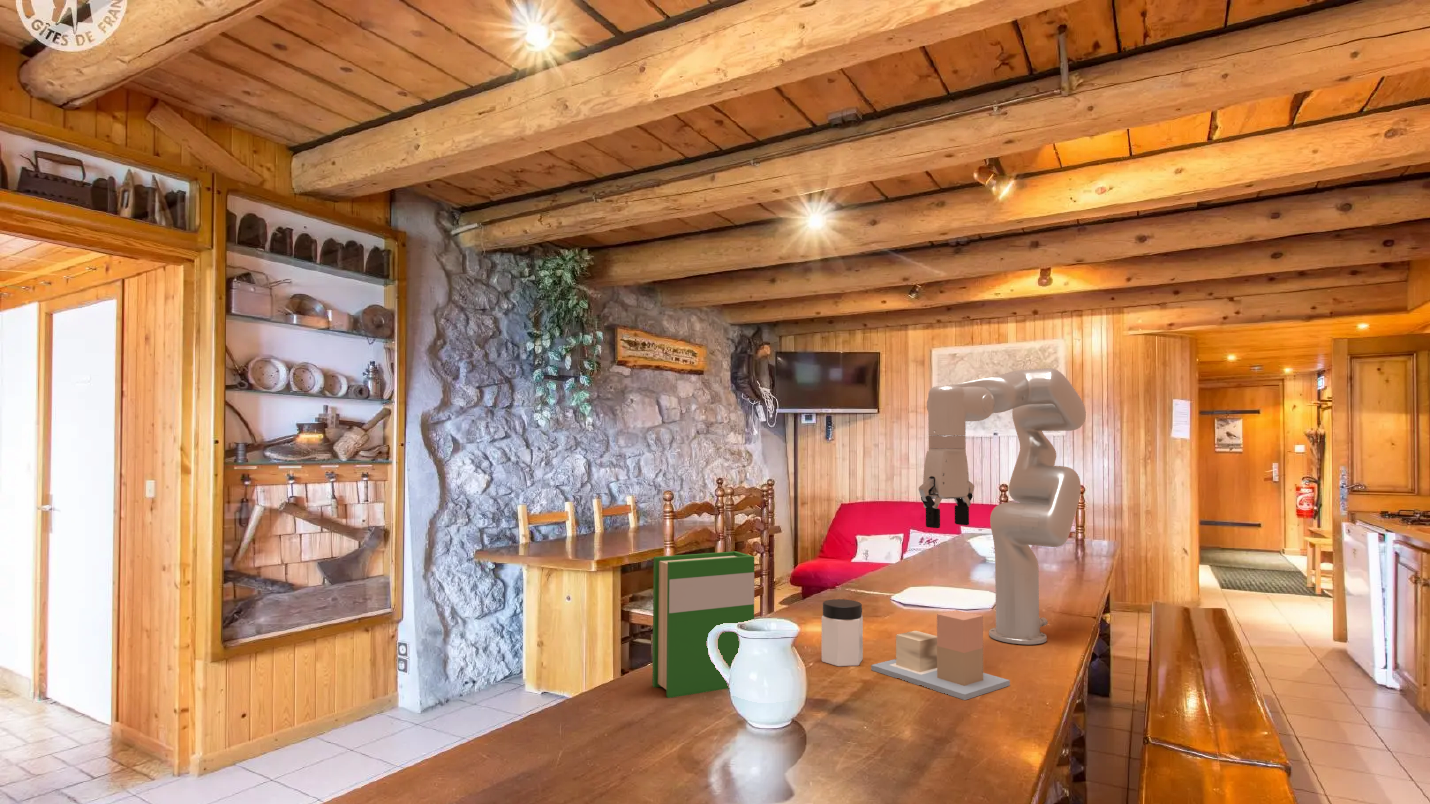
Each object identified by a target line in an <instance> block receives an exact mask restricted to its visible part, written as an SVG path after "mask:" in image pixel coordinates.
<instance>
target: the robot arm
mask: <svg viewBox="0 0 1430 804" xmlns="http://www.w3.org/2000/svg"><path fill="white" fill-rule="evenodd" d="M926 410H927V413H928V417H927V418H928V419H927V420H928V425H927V427H928V428H927V429H928V430H927V431H928V450H927V451H926V454H925V459H924V467H923V475H922V476H923V477H922V479H923V481H922V484H921V485H919V487H918V491H919V495H920V500H921V502H922V504H923V508H924V509H925V527H926V528H929V529H930V528H931V529H940V528H941V508H939V506H940V504H941V502H942V500H952V499H953V500H954V501H955V505H954V524H955V525H958V526H960V525H961V526H969V525H970V506H971V500H972V499H973V497H974V496H973V494H974V490H975V484H974V483H973V482H971V481H970V479H969V464H968V456H967V451H966V450H967V449H966V443H967V442H966V438H967V436H966V422H980V421H984V420H986V419H989V417H990V416H991V415H992V414H993V415H994V414H999V413H1005V412H1007V411H1010V410H1012V412H1011V413H1012V414H1011V415H1012V417H1011V418H1012V421H1013V425H1014V429H1015V431H1016V432H1015V433H1016V435H1017V439H1018V443H1019V452H1018V455H1017V457H1016V462H1015V465H1014V467H1013V470H1012V472H1011V473H1012V474H1011V477H1010V480H1009V484H1008V493H1009V496H1010V497H1011V499H1012V500H1014V501H1015V502H1011V501H1010V502H1002V503H999V504H998V505H996V506H995V507H993V509H992V510H991V513H990V517H989V518H990V519H989V521H990V522H989V523H990V529H991V534H992V540H993V547H994V565H995V566H994V569H995V574H994V575H995V577H994V579H995V583H994V585H995V627H992V628H990V630H989V631H988V635H989V637H990V638H991V639H993V640H996V641H999V642H1003V643H1007V644H1012V645H1013V644H1014V645H1015V644H1018V645H1029V646H1030V645H1040V644H1044V643H1046V642H1047V641H1048V638H1047V636H1048V635H1047V634H1046V633H1044V632H1042V631H1041V627H1045V626H1047V625H1048V623H1049V622H1048V619H1047V618H1046V617H1044V616H1043V617H1040V592H1039V591H1040V590H1039V589H1040V588H1039V587H1040V585H1039V584H1040V583H1039V582H1040V581H1039V580H1040V579H1039V576H1040V575H1039V572H1040V571H1039V570H1040V569H1039V568H1040V567H1039V562H1038V559H1037V556H1036V554H1035V553H1034V551H1033V550H1032V548H1031V547H1030V546H1037V547H1047V548H1058V547H1062V546H1063V545H1064V544H1066V542H1068V538H1069V537H1070V534H1071V530H1072V529H1073V524H1074V520H1075V516H1076V512H1077V509H1078V506H1079V503H1080V498H1081V492H1082V490H1081V489H1082V488H1081V487H1082V484H1081V479H1080V476H1079V474H1078V473H1077V471H1076V470H1074V469H1073V468H1071V467H1069V466H1065V465H1064V466H1063V465H1055V463H1056V460H1057V452H1056V449H1055V447H1054V445H1053V443H1051V441H1050V440H1049V439H1048V438H1047V437H1046V435H1045V433H1044V432H1045V431H1046V432H1056V431H1057V432H1062V431H1063V432H1070V431H1076V430H1078V429H1080V428H1081V427H1083V426H1084V424H1085V422H1086V418H1087V417H1086V416H1087V412H1086V407H1085V403H1084V402H1083V400H1082V398H1081V396H1080V395H1079V393H1078V392H1077V390H1076V389H1075V387H1073V385H1072V383H1071V382H1070V381H1069V380H1068V378H1067V377H1066V376H1065V374H1063V373H1062V372H1061V371H1059V370H1058V369H1056V368H1051V367H1048V368H1035V369H1034V368H1032V369H1017V370H1013V371H1008V372H1005V373H1002V374H997V375H993V376H989V377H984V378H979V379H974V380H969V381H964V382H958V383H954V384H947V385H935V386H933V387H931V388H930V389H929V391H928V395H927V400H926Z"/></svg>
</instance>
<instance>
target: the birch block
mask: <svg viewBox="0 0 1430 804" xmlns="http://www.w3.org/2000/svg"><path fill="white" fill-rule="evenodd" d="M895 659H896V665H898V666H901V667H905V668H908V669H911V670H914V671H917V672H923V671H927V670H931V669H935V668H937V635H934V634H930V633H927V632H922V631H919V630H913V631H907V632H904V633H898V634H896V635H895Z"/></svg>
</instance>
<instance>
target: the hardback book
mask: <svg viewBox="0 0 1430 804" xmlns="http://www.w3.org/2000/svg"><path fill="white" fill-rule="evenodd" d="M652 578H653V580H652V581H653V586H652V587H653V591H652V592H653V593H652V598H653V599H652V601H653V602H652V605H653V606H652V683H651V684H652V685H651V686H652V687H653V688H660V687H661V688H663V689H664V690H666V691H665V692H666V693H665V694H666V696H665V697H666V698H667V699H671V698H677V697H684V696H690V695H696V694H702V693H709V692H714V691H716V692H717V691H721V690H726V689H729V688H728V686H727V683H726V681H725V680H724V678H723V677H722V675H721V674H720V672H719V671H718V670H716V668H715V665H714V664H713V663H712V662H711V660H710V657H709V655H708V648H707V646H706V641H707V637H708V633H709V632H710V631H711V630H712V629H713V628H714V627H715V626H716V625H720V624H723V623H738V622H744V621H748V620H751V619H754V620H755V555H754V556H753V555H752V554H751V555H750V554H747V553H744V552H740V551H722V552H720V551H719V552H707V553H706V552H705V553H692V554H677V555H676V554H675V555H662V556H661V555H660V556H654V557H653V577H652ZM738 648H739V641H738V636H737V634H736V633H734V632H725V633H722V634H721V635H720V637H719V639H718V649H719V650H720V653H721V655H723V659H724V660H725V661H726V663H728V665H729V666H731V663H732V660H733V659H734V657H735V655H736V654H737V653H738Z"/></svg>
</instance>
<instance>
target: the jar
mask: <svg viewBox="0 0 1430 804" xmlns="http://www.w3.org/2000/svg"><path fill="white" fill-rule="evenodd" d="M863 619H864V617H863V605H862V603H861V602H860V601H858V600H857V601H856V600H853V599H844V598H843V599H841V598H839V599H838V598H836V599H835V598H833V599H827V600H824V601H823V602H822V616H821V662H823V663H826V664H829V665H833V666H834V667H835V666H836V667H856V666H860V664H861V663H862V662H863V659H864V658H863V657H864V656H863V655H864V645H863V644H864V643H863V642H864V641H863V639H864V636H863V633H864V631H863V627H864V625H863V624H864V622H863V621H864V620H863Z"/></svg>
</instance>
